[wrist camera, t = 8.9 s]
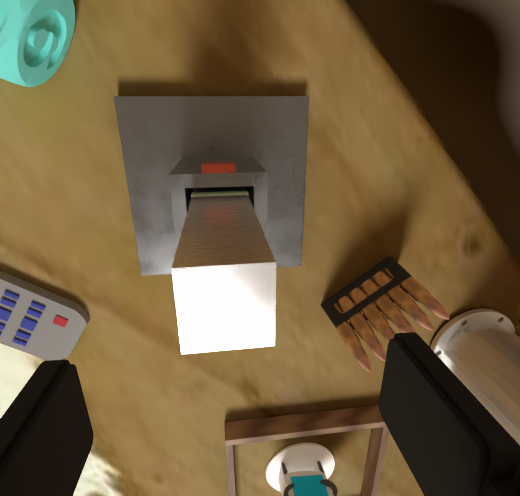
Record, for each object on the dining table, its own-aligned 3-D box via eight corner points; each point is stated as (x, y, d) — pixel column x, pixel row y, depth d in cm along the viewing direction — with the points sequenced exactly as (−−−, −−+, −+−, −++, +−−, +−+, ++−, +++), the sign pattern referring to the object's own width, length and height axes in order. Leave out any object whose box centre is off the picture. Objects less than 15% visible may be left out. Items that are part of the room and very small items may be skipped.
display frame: (381, 404, 51) (391, 421, 48) (364, 504, 60) (371, 523, 57) (224, 422, 48) (225, 440, 45) (231, 524, 57) (231, 545, 54)
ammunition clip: (390, 255, 41) (453, 306, 30) (396, 265, 42) (461, 319, 31) (320, 304, 43) (357, 370, 32) (327, 314, 44) (366, 381, 32)
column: (243, 182, 28) (277, 260, 13) (244, 228, 30) (276, 346, 14) (194, 183, 28) (169, 267, 12) (198, 230, 29) (180, 355, 14)
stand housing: (304, 96, 33) (346, 88, 23) (298, 260, 40) (328, 313, 29) (118, 96, 31) (68, 87, 21) (144, 269, 38) (117, 329, 27)
